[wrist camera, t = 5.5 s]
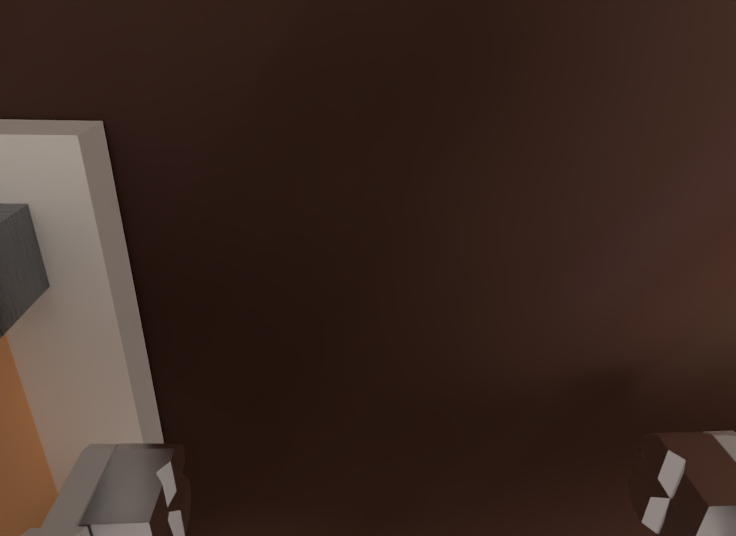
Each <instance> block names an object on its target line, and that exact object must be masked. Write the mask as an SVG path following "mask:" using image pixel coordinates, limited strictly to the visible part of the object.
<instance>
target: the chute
mask: <svg viewBox="0 0 736 536" xmlns="http://www.w3.org/2000/svg"><path fill="white" fill-rule="evenodd" d="M4 334H6V337H7V340H8V343H9V346H10V349H11V353H12V356H13V359H14V362H15V365H16V368H17V371H18V374H19V377H20V380H21V383H22V386H23V389H24V392H25V395H26V398H27V401H28V404H29V408H30V411H31V414H32V417H33V420H34V423H35V426H36V429H37V432H38V435H39V438H40V441H41V444H42V447H43V450H44V453H45V456H46V459H47V462H48V466H49V469H50V472H51V475H52V478H53V481H54V484H55V487H56V490H57V493H58V494H59V492H60V490H61V489H62V487H63V485H64V483H65V481H66V479H67V478H68V476H69V474H70V472H71V470H72V468H73V467H74V465H75V463H76V461H77V459H78V457H79V456H80V454H81V452H82V451H83V450H84V449H85V448H86V447H87V446H88V445H89V444H121V443H164V440H163V435H162V430H161V424H160V419H159V414H158V409H157V403H156V398H155V393H154V388H153V382H152V377H151V372H150V367H149V362H148V356H147V351H146V346H145V341H144V335H143V330H142V325H141V320H140V314H139V309H138V304H137V299H136V293H135V288H134V283H133V278H132V272H131V267H130V262H129V257H128V251H127V246H126V241H125V236H124V231H123V225H122V220H121V215H120V210H119V204H118V199H117V194H116V189H115V183H114V178H113V173H112V168H111V162H110V157H109V152H108V147H107V141H106V136H105V131H104V126H103V121H80V120H16V119H0V338H1V337H2V336H3V335H4Z"/></svg>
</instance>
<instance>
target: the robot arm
mask: <svg viewBox="0 0 736 536" xmlns="http://www.w3.org/2000/svg"><path fill="white" fill-rule="evenodd" d="M639 450H640V452H641V453H642V455H643V457H644V459H643V460H642V461H640V462H639V463H638V464H637V465H636V466H634V467H633V469H632V473H631V477H630V480H629V486H630V497H631V500H632V503H633V506H634V509H635V511H636V513H637V515H638V517H639V519H640V520H641V522H642V523H643V524H644V525H646V526H647V527H649V528H650V529H651V530H653V531H654V532H655V533H657V535H656V536H736V432H734V431H705V432H673V433H649V434H648V435H646V436H645V437H644V438H643V440H642V443H641V446H640V448H639ZM185 461H186V458H185V453H184V448H183V445H181V444H167V443H121V444H89V445H88V446H87V447H86V448H85V449H84V450H83V451H82V452H81V454H80V456H79V457H78V459H77V461H76V463H75V465H74V467H73V468H72V470H71V472H70V474H69V476H68V478H67V479H66V481H65V483H64V485H63V487H62V489H61V490H60V492H59V494H58V496H57V498H56V500H55V501H54V503H53V505H52V507H51V509H50V511H49V512H48V514H47V516H46V518H45V520H44V522H43V523H42V525H41V527H40V528H30V529H29V530H27V531H26V532H25V533H23V534H22V535H21V536H185V535H186V531H187V527H188V523H189V517H190V509H191V486H190V480H189V478H188V477H187V476H186V475H184V474H183V473H182V471H183V468H184V465H185Z"/></svg>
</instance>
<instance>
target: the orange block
mask: <svg viewBox="0 0 736 536" xmlns="http://www.w3.org/2000/svg"><path fill="white" fill-rule="evenodd" d="M57 496H58V493H57V490H56V487H55V484H54V481H53V478H52V475H51V472H50V469H49V466H48V462H47V459H46V456H45V453H44V450H43V447H42V444H41V441H40V438H39V435H38V432H37V429H36V426H35V423H34V420H33V417H32V414H31V411H30V408H29V404H28V401H27V398H26V395H25V392H24V389H23V386H22V383H21V380H20V377H19V374H18V371H17V368H16V365H15V362H14V359H13V356H12V353H11V349H10V346H9V343H8V340H7V337H6V334H4V335H3V336H2V337H1V338H0V536H21V535H22V534H23V533H25V532H26V531H27V530H29V529H30V528H40V527H41V525H42V523H43V522H44V520H45V518H46V516H47V514H48V512H49V511H50V509H51V507H52V505H53V503H54V501H55V500H56V498H57Z"/></svg>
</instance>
